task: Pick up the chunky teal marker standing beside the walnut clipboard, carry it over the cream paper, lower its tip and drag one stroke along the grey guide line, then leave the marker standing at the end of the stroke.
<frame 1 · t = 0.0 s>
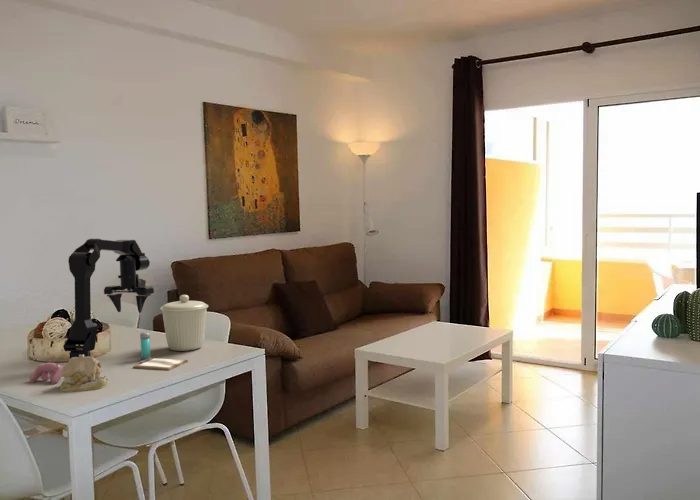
hand: (129, 312, 236), 15 cm above the table, tool pointing down, fingers open, 9 cm apart
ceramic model: (83, 387, 188), on the table
clipboard: (160, 364, 213), on the table
pink lumpy arch: (48, 382, 194), on the table
canister: (186, 348, 238), on the table
marker: (146, 359, 221), on the table
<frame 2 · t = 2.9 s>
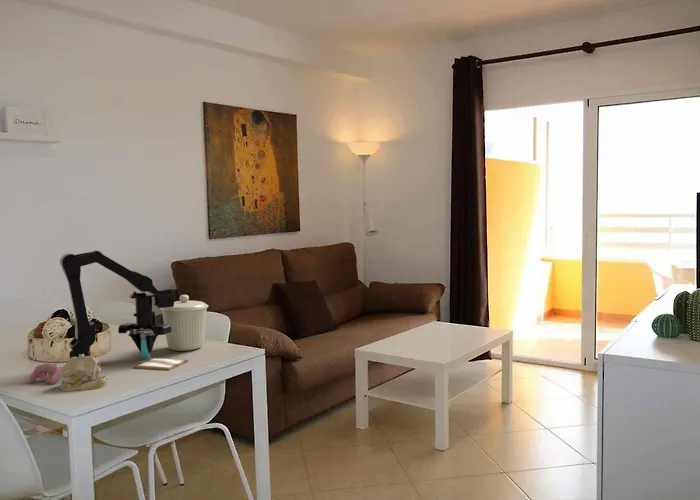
hand: (145, 352, 221), 3 cm above the table, tool pointing down, fingers closed on marker, 3 cm apart
marker: (146, 359, 221), on the table, touching gripper
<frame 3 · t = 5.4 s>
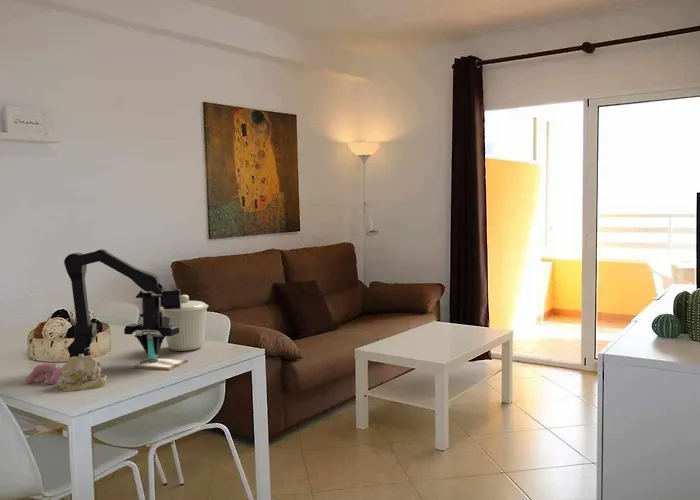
hand: (152, 354, 214), 4 cm above the table, tool pointing down, fingers closed on marker, 3 cm apart
marker: (152, 361, 214), point 1 cm above the table, touching gripper
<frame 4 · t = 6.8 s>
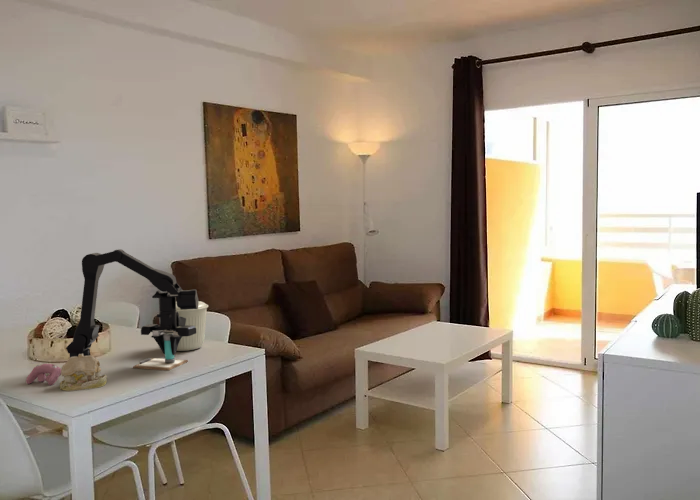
hand: (169, 354, 212), 4 cm above the table, tool pointing down, fingers closed on marker, 3 cm apart
marker: (169, 361, 212), point 1 cm above the table, touching gripper
when the fingers open (4 cm above the table, at t = 8.0 s): marker stays where it is, resting on clipboard.
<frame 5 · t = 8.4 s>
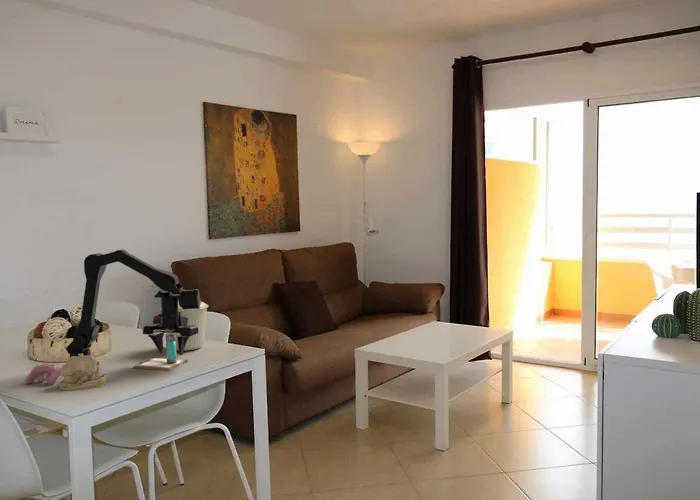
hand: (171, 354, 212), 4 cm above the table, tool pointing down, fingers open, 7 cm apart
marker: (171, 362, 212), point 1 cm above the table, touching clipboard
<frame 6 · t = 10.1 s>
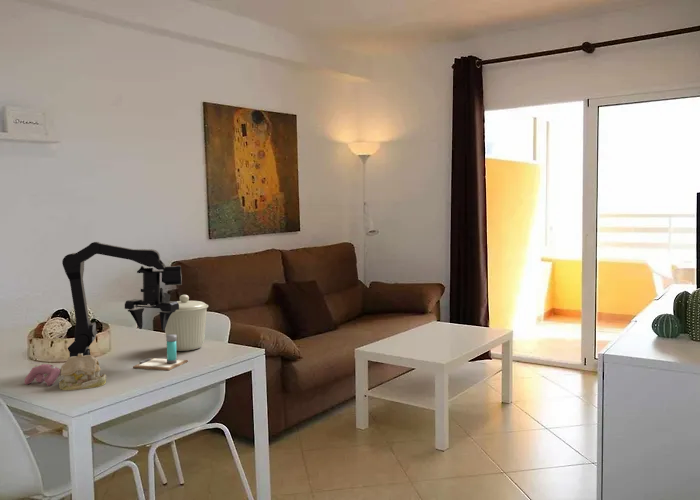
hand: (152, 329, 215), 12 cm above the table, tool pointing down, fingers open, 9 cm apart
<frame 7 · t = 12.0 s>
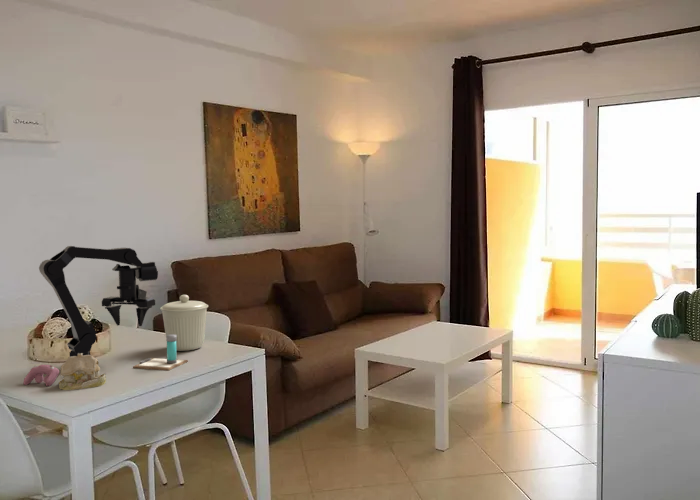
hand: (129, 325, 220), 13 cm above the table, tool pointing down, fingers open, 9 cm apart
at the end: marker inside the target area on the clipboard (4.0 cm from its centre), point 0.8 cm above the clipboard's base; marker tilted 2°; the gripper is holding nothing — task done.
